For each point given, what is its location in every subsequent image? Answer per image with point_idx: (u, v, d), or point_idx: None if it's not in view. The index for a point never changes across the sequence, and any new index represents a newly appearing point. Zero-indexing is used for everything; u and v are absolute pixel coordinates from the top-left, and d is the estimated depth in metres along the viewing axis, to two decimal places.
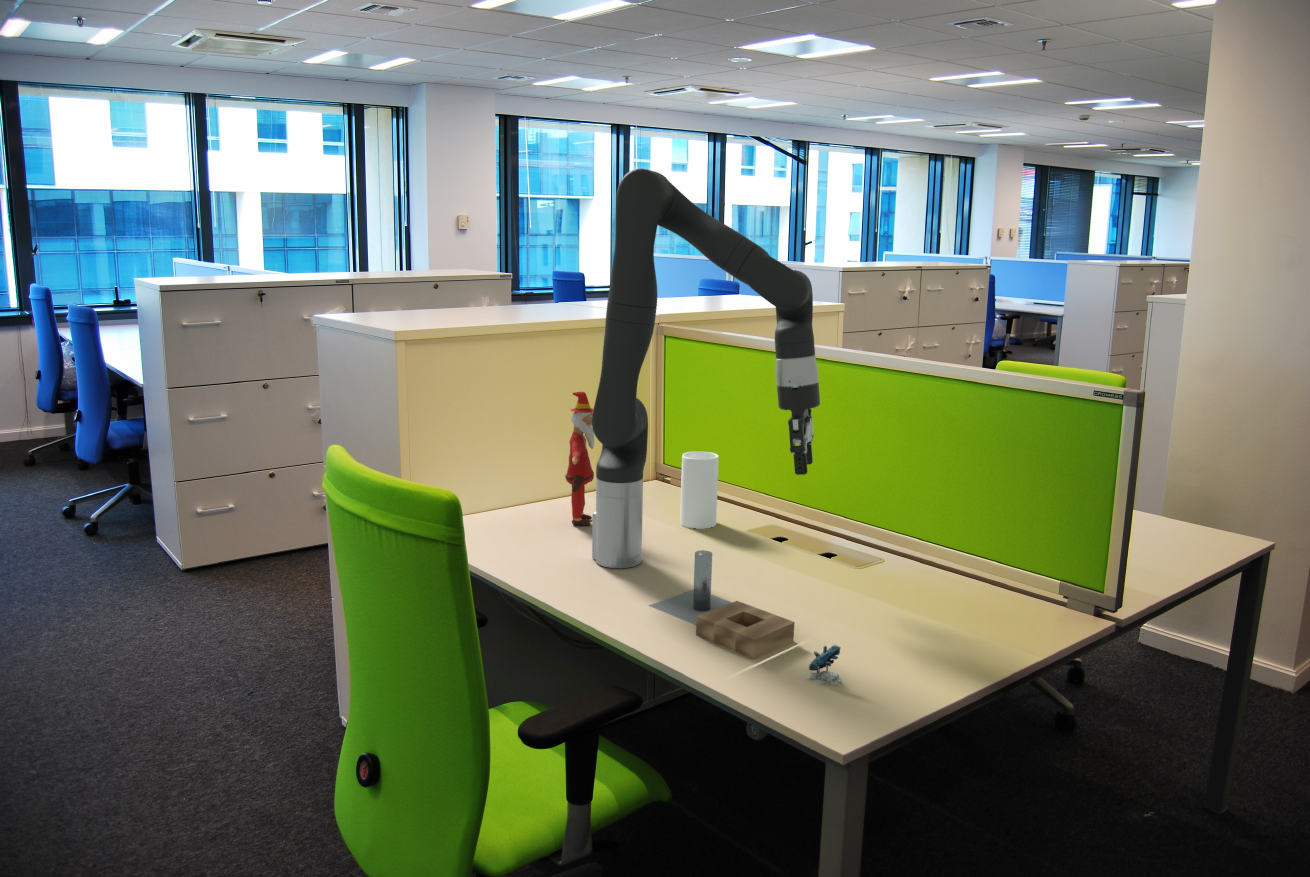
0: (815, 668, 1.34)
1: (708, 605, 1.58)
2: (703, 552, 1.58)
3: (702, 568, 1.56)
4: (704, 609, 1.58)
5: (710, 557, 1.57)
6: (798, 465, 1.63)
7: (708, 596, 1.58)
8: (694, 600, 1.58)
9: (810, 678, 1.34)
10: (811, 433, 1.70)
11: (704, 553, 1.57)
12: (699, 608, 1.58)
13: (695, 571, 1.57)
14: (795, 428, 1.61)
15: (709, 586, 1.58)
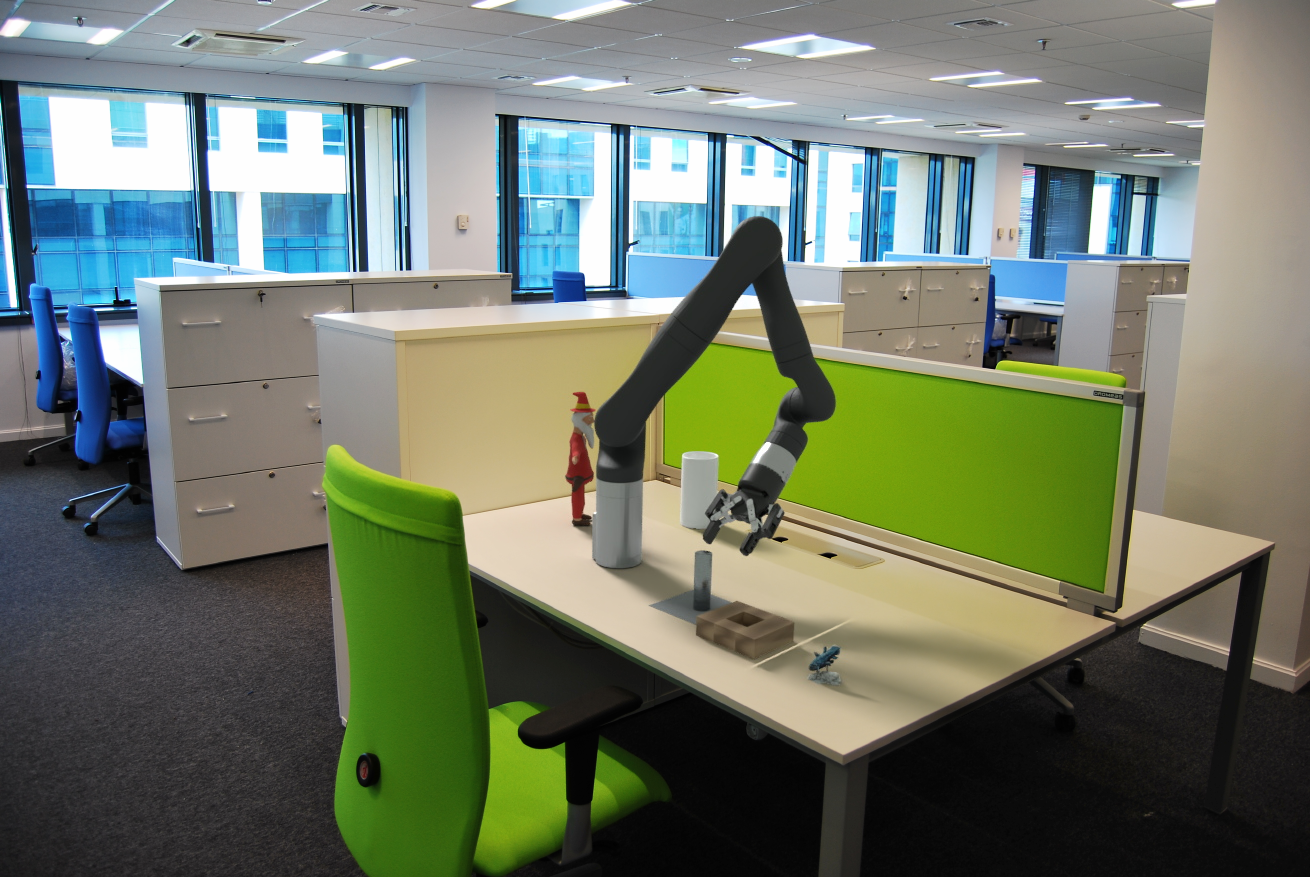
0: (815, 668, 1.34)
1: (708, 605, 1.58)
2: (703, 552, 1.58)
3: (702, 568, 1.56)
4: (704, 609, 1.58)
5: (710, 557, 1.57)
6: (752, 545, 1.58)
7: (708, 596, 1.58)
8: (694, 600, 1.58)
9: (810, 678, 1.34)
10: (733, 520, 1.66)
11: (704, 553, 1.57)
12: (699, 608, 1.58)
13: (695, 571, 1.57)
14: (779, 514, 1.59)
15: (709, 586, 1.58)
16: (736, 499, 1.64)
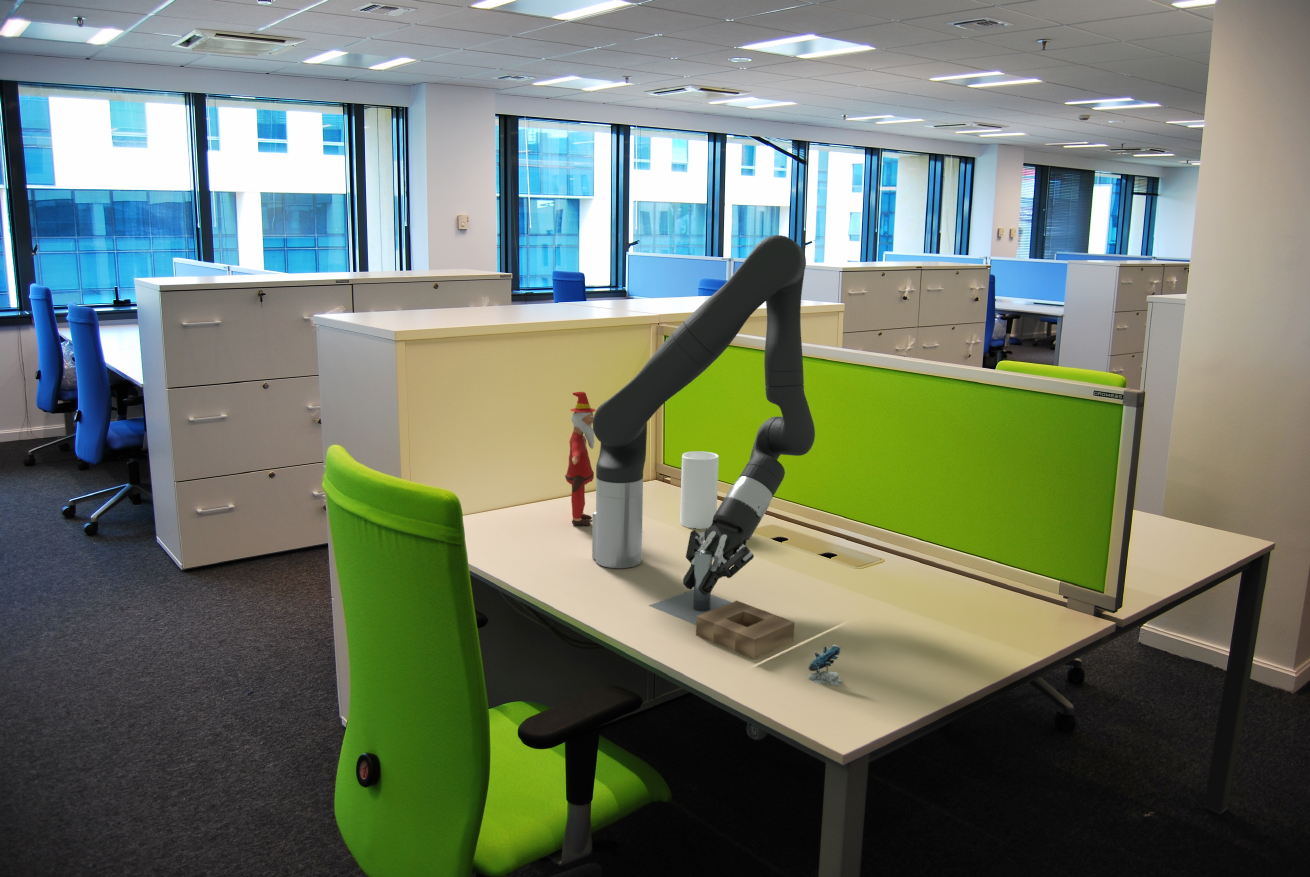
0: (815, 668, 1.34)
1: (708, 605, 1.58)
2: (703, 552, 1.58)
3: (702, 568, 1.56)
4: (704, 609, 1.58)
5: (710, 557, 1.57)
6: (711, 584, 1.56)
7: (708, 596, 1.58)
8: (694, 600, 1.58)
9: (810, 678, 1.34)
10: (712, 559, 1.61)
11: (704, 553, 1.57)
12: (699, 608, 1.58)
13: (695, 571, 1.57)
14: (744, 558, 1.56)
15: None
16: (711, 535, 1.60)
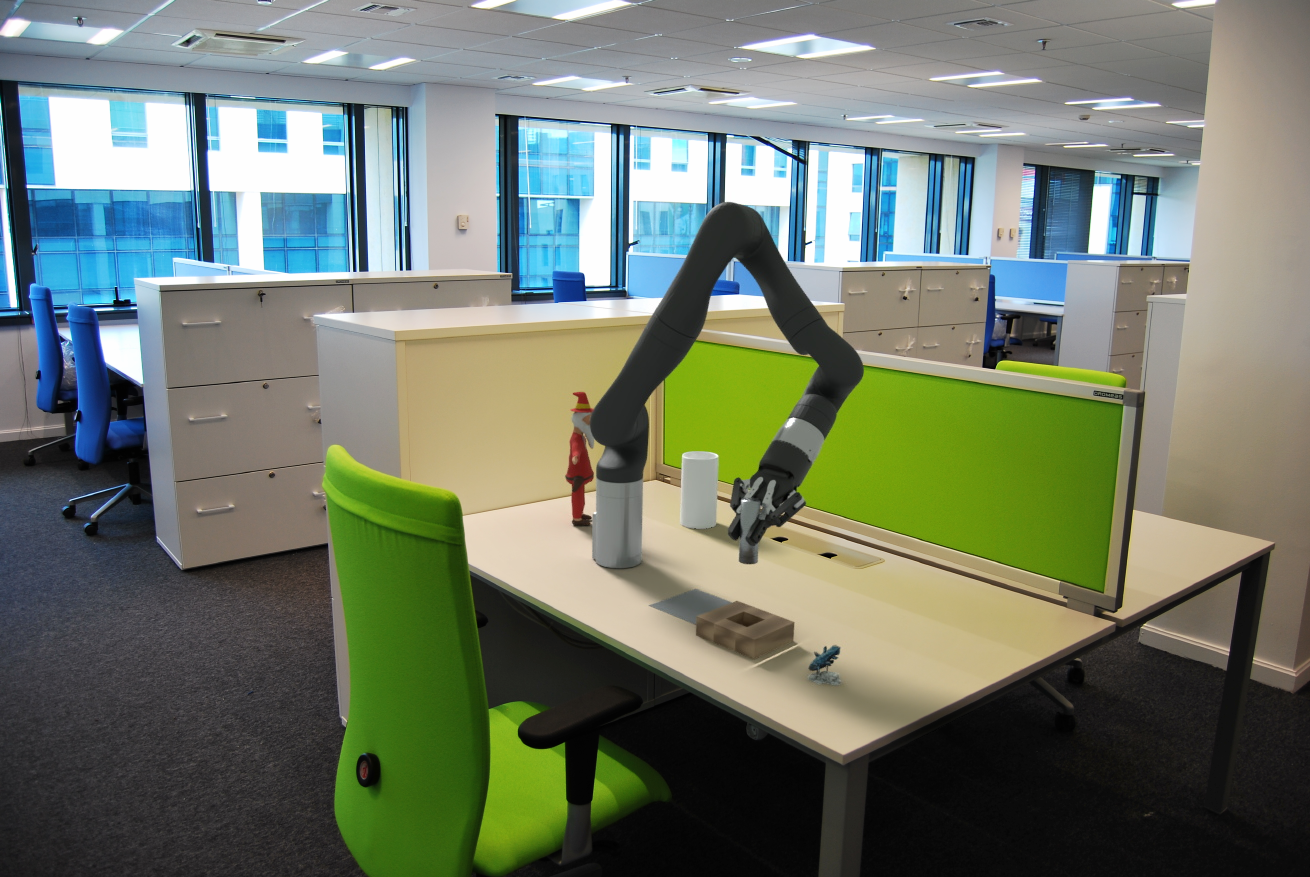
0: (815, 668, 1.34)
1: (756, 557, 1.44)
2: (750, 499, 1.44)
3: (749, 516, 1.42)
4: (751, 562, 1.44)
5: (758, 504, 1.42)
6: (759, 533, 1.41)
7: (756, 547, 1.44)
8: (740, 552, 1.44)
9: (810, 678, 1.34)
10: None
11: (751, 500, 1.43)
12: (746, 561, 1.44)
13: (741, 520, 1.43)
14: (796, 505, 1.41)
15: None
16: (757, 481, 1.46)
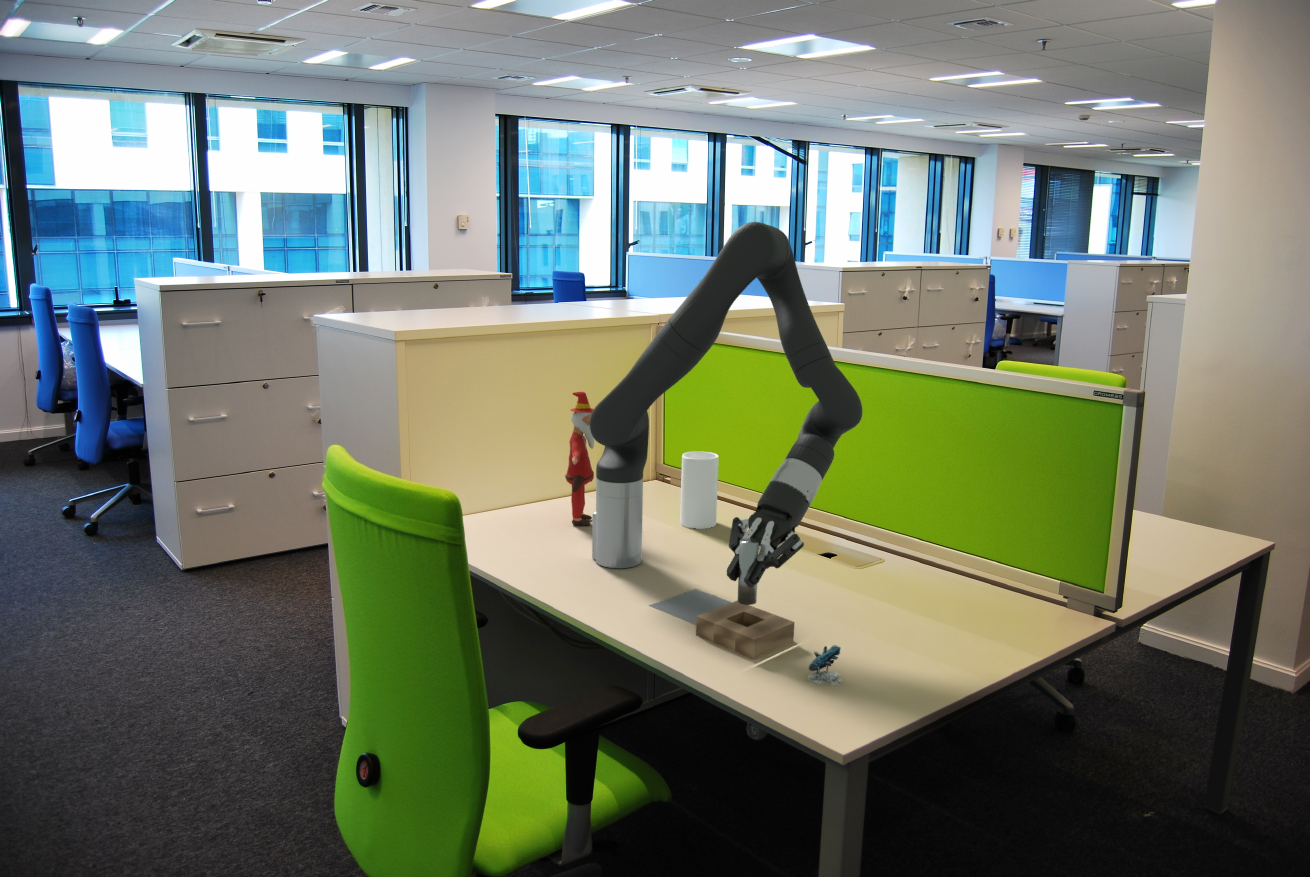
0: (815, 668, 1.34)
1: (754, 598, 1.45)
2: (748, 540, 1.45)
3: (748, 557, 1.43)
4: (750, 602, 1.45)
5: (757, 545, 1.43)
6: (757, 575, 1.43)
7: (754, 588, 1.45)
8: (739, 593, 1.45)
9: (810, 678, 1.34)
10: None
11: (750, 541, 1.44)
12: (745, 601, 1.45)
13: (740, 561, 1.44)
14: (794, 546, 1.43)
15: None
16: (756, 521, 1.47)
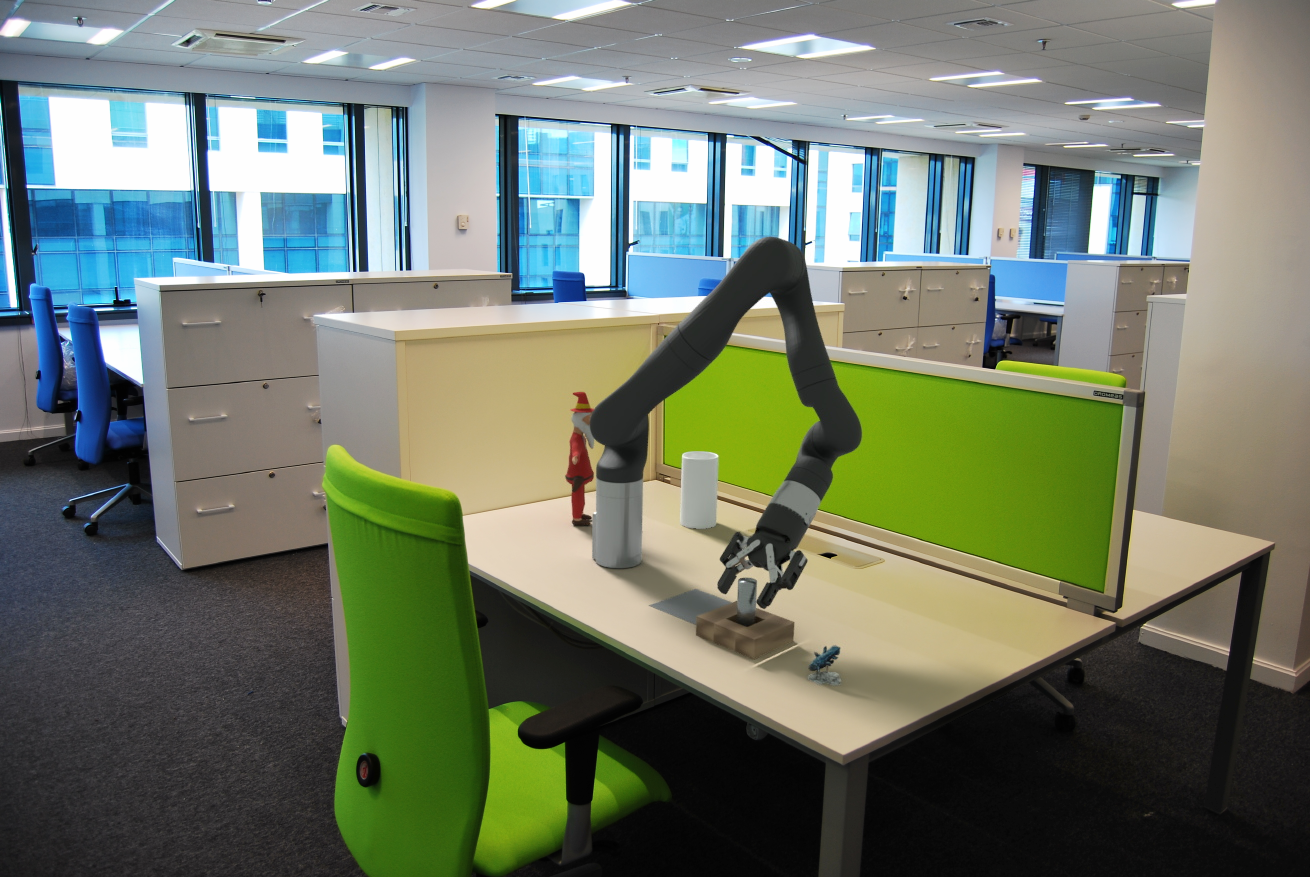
0: (815, 668, 1.34)
1: None
2: (747, 579, 1.46)
3: (746, 597, 1.45)
4: None
5: (755, 585, 1.45)
6: (770, 597, 1.42)
7: None
8: None
9: (810, 678, 1.34)
10: (750, 566, 1.50)
11: (748, 581, 1.45)
12: None
13: (738, 600, 1.46)
14: (801, 563, 1.43)
15: (754, 616, 1.46)
16: (754, 543, 1.48)
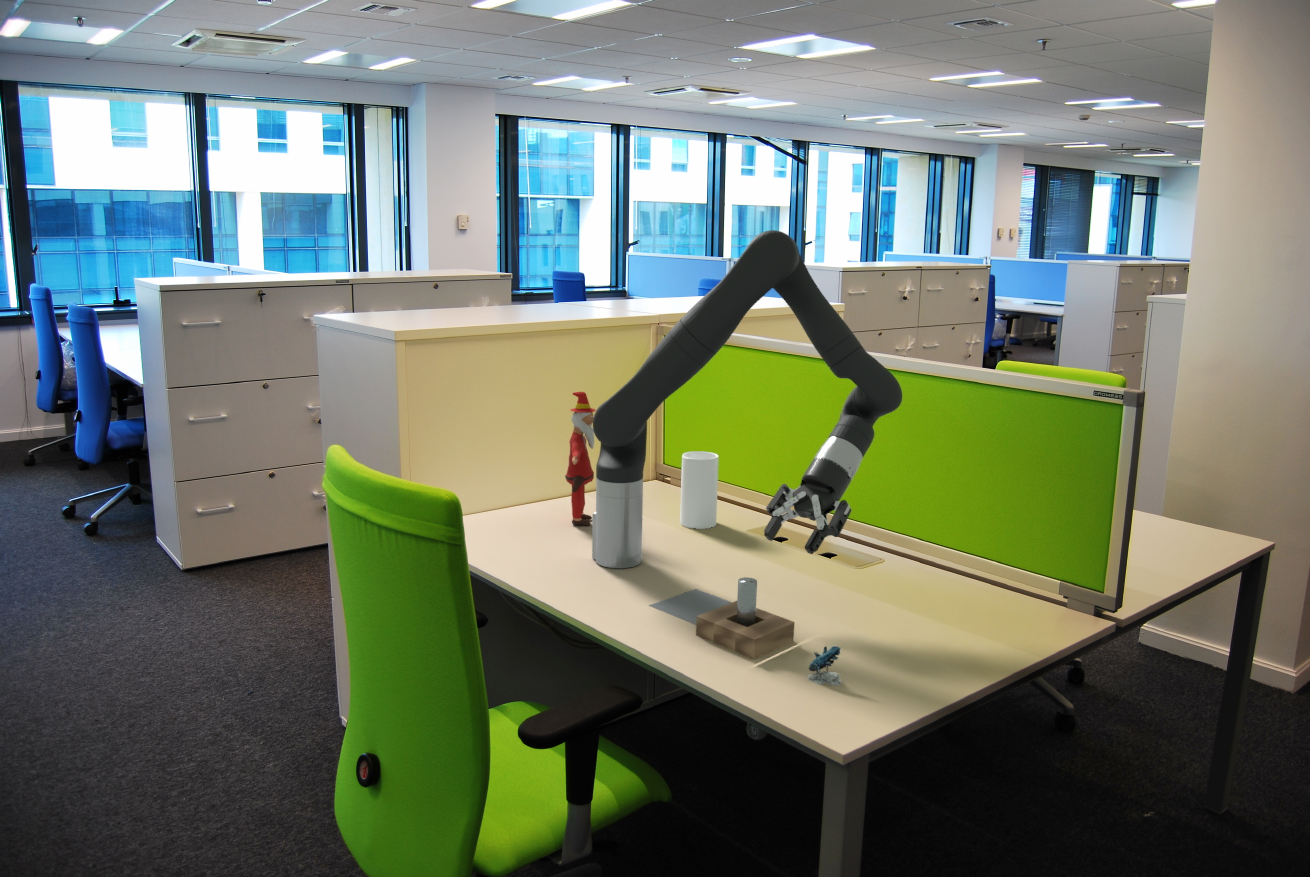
0: (815, 668, 1.34)
1: None
2: (747, 579, 1.46)
3: (746, 597, 1.45)
4: None
5: (755, 585, 1.45)
6: (817, 542, 1.52)
7: None
8: None
9: (810, 678, 1.34)
10: (795, 516, 1.60)
11: (748, 581, 1.46)
12: None
13: (738, 600, 1.46)
14: (846, 511, 1.53)
15: (754, 616, 1.46)
16: (800, 494, 1.58)
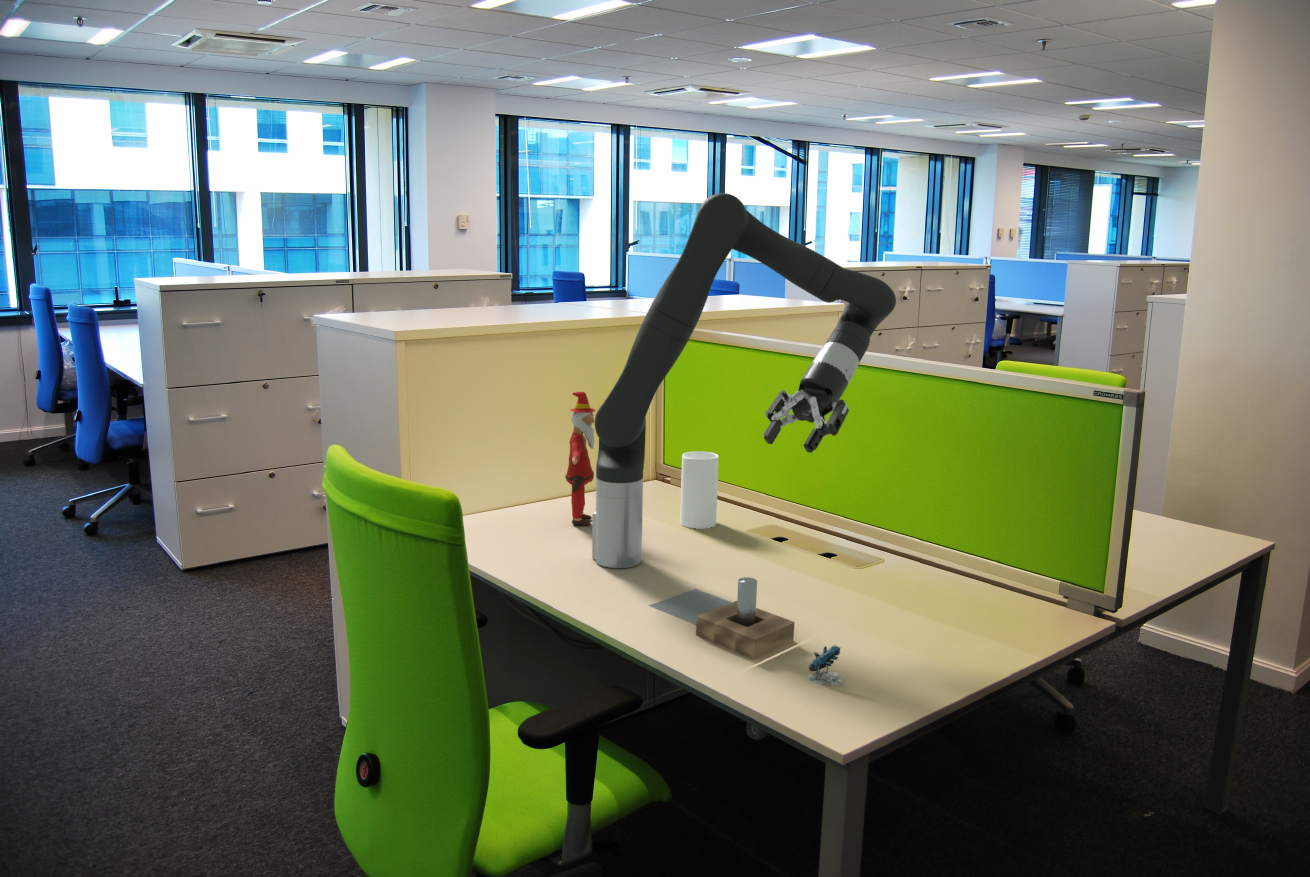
0: (815, 668, 1.34)
1: None
2: (747, 579, 1.46)
3: (746, 597, 1.45)
4: None
5: (755, 585, 1.45)
6: (816, 441, 1.54)
7: None
8: None
9: (810, 679, 1.34)
10: (794, 420, 1.62)
11: (748, 580, 1.46)
12: None
13: (738, 600, 1.46)
14: (843, 411, 1.56)
15: (754, 616, 1.46)
16: (798, 397, 1.60)
